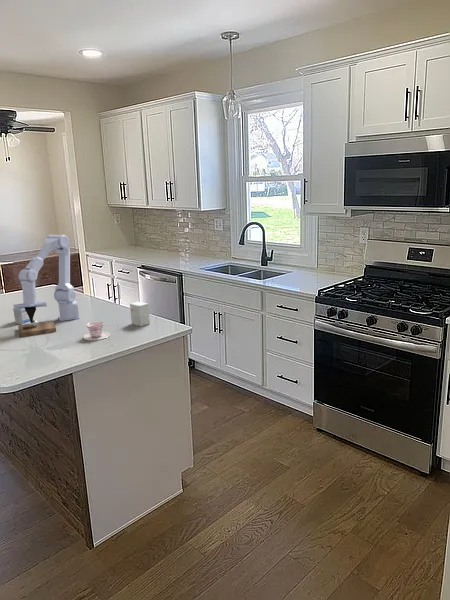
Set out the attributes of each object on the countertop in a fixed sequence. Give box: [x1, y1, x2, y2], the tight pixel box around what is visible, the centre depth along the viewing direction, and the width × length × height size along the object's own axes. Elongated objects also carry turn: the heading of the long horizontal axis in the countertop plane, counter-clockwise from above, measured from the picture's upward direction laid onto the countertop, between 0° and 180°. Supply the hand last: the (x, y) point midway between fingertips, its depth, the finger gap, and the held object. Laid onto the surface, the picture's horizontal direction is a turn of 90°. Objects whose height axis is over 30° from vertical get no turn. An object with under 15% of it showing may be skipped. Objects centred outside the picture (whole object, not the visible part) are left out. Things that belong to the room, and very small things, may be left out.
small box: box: [129, 301, 151, 327], centre depth 229 cm, size 8×6×10 cm
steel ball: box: [30, 319, 39, 327], centre depth 223 cm, size 4×4×4 cm
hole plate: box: [17, 320, 57, 338], centre depth 224 cm, size 16×14×2 cm
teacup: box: [82, 321, 111, 342], centre depth 212 cm, size 12×12×6 cm
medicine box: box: [12, 307, 30, 325], centre depth 239 cm, size 8×4×9 cm, turn 168°
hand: (31, 322), depth 222 cm, fingers closed, pressing on steel ball
